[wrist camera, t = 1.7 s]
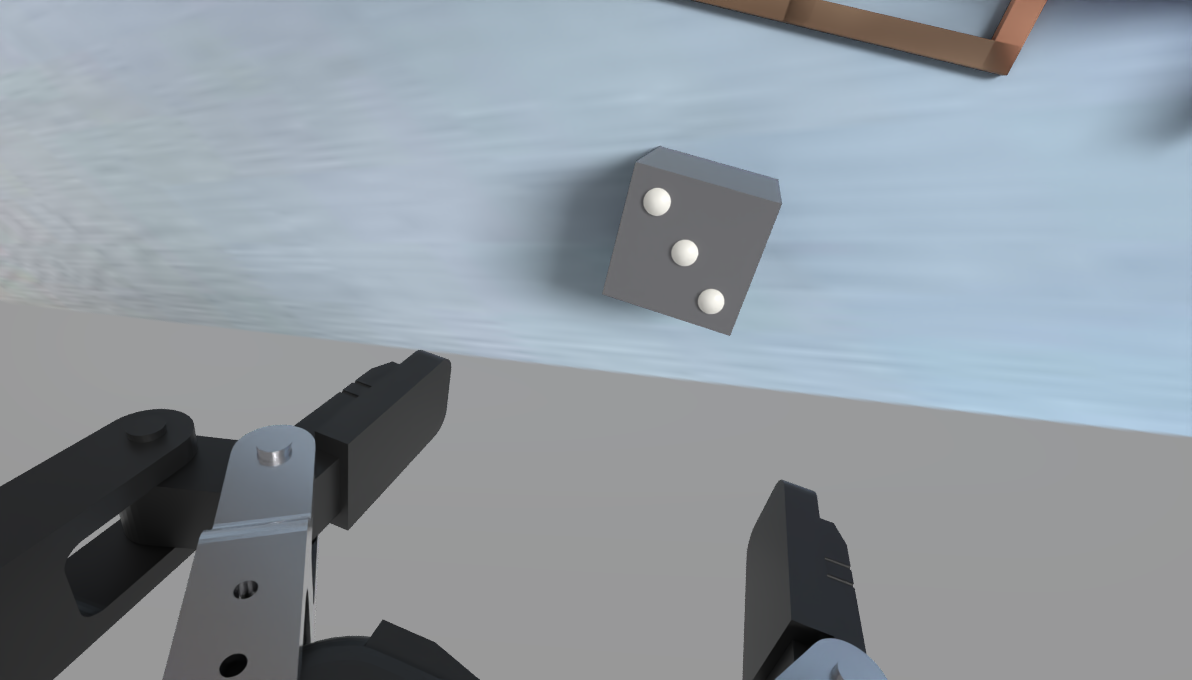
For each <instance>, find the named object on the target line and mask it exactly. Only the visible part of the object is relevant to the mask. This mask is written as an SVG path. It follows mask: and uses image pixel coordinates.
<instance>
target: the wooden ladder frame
mask: <svg viewBox="0 0 1192 680" xmlns="http://www.w3.org/2000/svg"><path fill="white" fill-rule="evenodd" d="M692 1H696V2H701V3H705V4H709V5H713V6H717V7H721V8H725V9H730V10H734V11H738V12H742V13H746V14H750V15H754V16H758V17H763V18H767V19H771V20H775V21H779V22H783V23H787V24H792V25H796V26H800V27H804V28H808V29H812V30H816V31H820V32H825V33H829V34H833V35H837V36H841V37H845V38H849V39H854V40H858V41H862V42H866V43H870V44H874V45H878V46H883V47H887V48H891V49H895V50H899V51H903V52H907V53H911V54H916V55H920V56H924V57H928V58H932V59H936V60H940V61H945V62H949V63H953V64H957V65H961V66H965V67H969V68H973V69H978V70H982V71H986V72H990V73H994V74H998V75H1008V73H1009V71H1010V69H1011V67H1012V65H1013V63H1014V61H1015V60H1016V58H1017V56H1018V54H1019V52H1020V50H1021V48H1022V46H1023V45H1024V43H1025V41H1026V39H1027V37H1028V35H1029V33H1030V31H1031V30H1032V28H1033V26H1034V24H1035V22H1036V20H1037V18H1038V17H1039V15H1040V13H1041V11H1042V9H1043V7H1044V5H1045V3H1046V2H1047V0H1011V2H1010V4H1009V6H1008V8H1007V10H1006V12H1005V14H1004V16H1003V18H1002V19H1001V21H1000V23H999V25H998V27H997V29H996V31H995V33H994V35H993V37H992V39H991V40H990V39H986V38H981V37H977V36H973V35H968V34H964V33H960V32H956V31H951V30H947V29H943V28H939V27H934V26H930V25H926V24H921V23H917V22H913V21H909V20H904V19H900V18H896V17H892V16H887V15H883V14H879V13H874V12H870V11H866V10H862V9H857V8H853V7H849V6H844V5H840V4H836V3H832V2H827V1H823V0H692Z"/></svg>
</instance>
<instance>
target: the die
mask: <svg viewBox="0 0 1192 680" xmlns="http://www.w3.org/2000/svg"><path fill="white" fill-rule="evenodd" d="M781 205H782V201H781V194H780V188H779V181H778V179H775V178H771V177H768V176H764V175H761V174H757V173H754V172H750V171H746V170H743V169H739V168H736V167H732V166H729V165H725V164H722V163H718V162H715V161H711V160H707V159H704V158H700V157H697V156H693V155H690V154H686V153H683V152H679V151H676V150H672V149H668V148H665V147H661V146H659V147H658V148H656V149H655V150H653V151H651V152H650V153H648V154H647V155H645V156H644V157H642V158H641V159H639V160H637V161H636V162H635V166H634V170H633V174H632V178H631V182H630V186H629V190H628V194H627V198H626V202H625V206H624V210H623V214H622V218H621V222H620V226H619V230H618V234H617V238H616V242H615V245H614V249H613V253H612V257H611V261H610V265H609V269H608V273H607V277H606V281H605V285H604V289H603V293H602V294H603V295H606V296H609V297H612V298H616V299H619V300H622V301H625V302H628V303H631V304H634V305H637V306H640V307H643V308H646V309H649V310H652V311H655V312H658V313H662V314H665V315H668V316H671V317H674V318H677V319H680V320H683V321H686V322H689V323H692V324H695V325H698V326H701V327H704V328H708V329H711V330H714V331H717V332H720V333H723V334H726V335H729V336H730V335H731V332H732V329H733V327H734V324H735V322H736V319H737V317H738V314H739V312H740V309H741V307H742V304H743V301H744V299H745V296H746V294H747V291H748V289H749V286H750V284H751V281H752V279H753V276H754V274H755V271H756V268H757V266H758V263H759V261H760V258H761V256H762V253H763V251H764V248H765V246H766V243H767V240H768V238H769V235H770V233H771V230H772V228H773V225H774V223H775V220H776V218H777V215H778V213H779V210H780V207H781Z"/></svg>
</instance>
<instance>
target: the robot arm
mask: <svg viewBox="0 0 1192 680" xmlns="http://www.w3.org/2000/svg"><path fill="white" fill-rule="evenodd" d="M450 374H451V362H450V361H449V360H448V359H445V358H443V357H440V356H437V355H434V354H431V353H429V352H426V351H423V350H418V351H416V352H415V353H413V354H412V355H411V356H410V357H408V358H407V359H406V360H405V361H403V362H402V363H401V364H397V363H395V362H390V363H387V364H384V365H381V366H378V367H375V368H372V369H371V370H369V371H368V372H366V373H365V374H363V375H362V376H361V377H359V378H358V379H357V380H356V381H355V383H351V384H350V385H349V386H347V387H346V388H345V389H343V391H342V393H341V392H339V393H338V394H336V395H335V396H334V397H332V398H331V399H330V400H328V401H327V402H326V403H324V404H323V405H322V406H320V407H319V408H318V409H316V410H315V411H314V412H312V413H311V414H309V415H308V416H307V417H305V418H304V419H303V420H301V421H300V422H299V423H297V424H296V425H295V426H291V425H273V426H267V427H263V428H259V429H256V430H254V431H252V432H250V433H248V434H246V435H244V436H243V437H242V438H241V439H239V440H231V439H222V438H213V437H204V436H196V434H195V428H194V423H193V420H192V419H191V418H190V417H189V416H188V415H186V414H184V413H182V412H179V411H175V410H169V409H153V410H145V411H140V412H136V413H133V414H129V415H127V416H124V417H122V418H120V419H118V420H115V421H114V422H112V423H110V424H108V425H107V426H105V427H103V428H101V429H100V430H98V431H96V432H94V433H93V434H91V435H89V436H88V437H86V438H84V439H82V440H80V441H79V442H77V443H75V444H74V445H72V446H70V447H68V448H67V449H65V450H63V451H61V452H60V453H58V454H56V455H54V456H53V457H51V458H49V459H48V460H46V461H44V462H42V463H41V464H39V465H37V466H35V467H34V468H32V469H30V470H28V471H27V472H25V473H23V474H21V475H20V476H18V477H16V478H14V479H13V480H11V481H9V482H7V483H6V484H4V485H2V486H0V680H53V679H54V678H55V677H56V676H58V675H59V674H60V673H61V672H62V671H63V670H64V669H65V668H66V667H67V666H69V665H70V664H71V663H72V662H73V661H74V660H75V659H76V658H77V657H79V656H80V655H81V654H82V653H83V652H84V651H85V650H86V649H87V648H88V647H90V646H91V645H92V644H93V643H94V642H95V641H96V640H97V639H98V638H99V637H100V636H102V635H103V634H104V633H105V632H106V631H107V630H108V629H109V628H110V627H112V626H113V625H114V624H115V623H116V622H117V621H118V620H119V619H120V618H122V616H124V615H125V614H126V613H127V612H128V611H129V610H130V609H131V608H133V607H134V606H135V605H136V604H137V603H138V602H139V601H140V600H141V599H142V598H143V597H145V596H146V595H147V594H148V593H149V592H150V591H151V590H152V589H154V587H156V586H157V585H158V584H159V583H160V582H161V581H162V580H163V579H164V578H166V577H167V576H168V575H169V574H170V573H171V572H172V571H173V570H174V569H176V568H177V567H178V566H179V565H180V564H181V563H182V562H183V561H184V560H186V559H187V558H188V556H190V555H191V554H192V553H193V552H194V551H195V550H196V552H195V556H194V560H193V564H192V568H191V571H190V575H189V579H188V583H187V587H186V591H185V595H184V598H183V603H182V606H181V610H180V614H179V618H178V622H177V625H176V629H175V633H174V637H173V641H172V645H171V649H170V653H169V657H168V660H167V664H166V668H165V672H164V676H163V679H162V680H480V679H478V678H477V677H475V676H474V675H473V674H472V673H471V672H470V671H469V670H467V669H466V668H465V667H464V666H462V665H461V664H460V663H459V662H458V661H457V660H455V659H454V658H453V657H452V656H451V655H449V654H448V653H447V652H446V651H445V650H444V649H442V648H441V647H440V646H439V645H438V644H436V643H435V642H433V641H431V640H428V639H426V638H424V637H422V636H419V635H417V634H415V633H412V632H410V631H408V630H406V629H403V628H401V627H398V626H396V625H394V624H392V623H390V622H387V621H385V620H382V621H381V623H380V624H379V626H378V627H377V628H376V630H375V631H374V633H373V634H372V636H371V637H367V636H345V637H334V638H329V639H324V640H320V641H316V642H315V610H316V589H317V568H318V567H317V566H318V547H319V537H318V536H319V533H320V532H321V531H322V530H323V529H324V528H325V527H326V526H327V525H328V524H329V523H331V524H334V525H336V526H338V527H341V528H343V529H346V530H349V529H350V528H351V527H352V526H353V524H354V523H355V522H356V521H357V520H358V519H359V518H360V517H361V516H362V515H363V514H364V512H365V511H366V510H367V509H368V508H369V507H370V506H371V505H372V504H373V503H374V501H376V499H377V498H378V497H379V496H380V495H381V494H382V493H383V492H384V491H385V490H386V489H387V487H388V486H389V485H390V484H391V483H392V482H393V481H394V480H395V479H396V478H397V477H398V476H399V474H400V473H401V472H402V471H403V470H404V469H405V468H406V467H407V465H409V463H410V462H411V461H412V460H413V459H414V458H415V457H416V456H417V455H418V454H419V453H420V451H421V450H422V449H423V448H424V447H425V446H426V445H427V444H428V443H429V442H430V441H431V440H432V439H433V437H434V436H435V435H436V434H437V432H438V431H439V429H440V427H441V426H442V423H443V421H444V418H445V415H446V410H447V400H448V392H449V383H450ZM118 514H119V515H120V518H121V519H120V520H119V521H117V522H116V523H115V524H113V525H112V526H110V527H109V528H108V529H106V530H105V531H104V532H102V533H101V534H100V535H99V536H97V537H96V538H95V539H93V540H92V541H90V542H89V543H88V544H86V545H85V546H84V547H82V548H81V549H79V550H78V551H77V552H75V553H74V554H73V555H71V556H70V557H69V558H68V556H69V555H70V553H71V552H72V550H73V549H74V548H75V547H76V546H77V545H78V544H79V543H80V542H81V541H82V540H84V539H85V538H86V537H88V536H89V535H90V534H92V533H93V532H94V531H96V530H97V529H99V528H100V527H101V526H103V525H104V524H105V523H107V522H108V521H109V520H111V519H112V518H113V517H115V516H116V515H118ZM746 565H747V566H746V593H745V622H744V652H743V680H887V678H886V677H885V675H884V673H883V672H882V671H881V669H880V668H879V667H878V665H877V664H876V663H875V662H874V661H873V660H872V659H871V658H870V657H869V656H868V655H867V654H866V649H865V644H864V638H863V633H862V627H861V622H860V616H859V611H858V605H857V599H856V594H855V589H854V588H853V584H854V583H853V578H852V572H851V570H850V561H849V555H848V549H847V545H846V543H845V541H844V540H843V538H842V537H841V535H840V533H839V531H838V530H837V528H836V526H835V525H834V523H832V522H829V521H826V520H823V519H821V518H820V516H819V510H818V501H817V495H816V493H815V492H814V491H812V490H809V489H806V488H803V487H801V486H798V485H795V484H792V483H789V482H787V481H784V480H780V481H778V483H777V484H776V486H775V488H774V490H773V491H772V493H771V495H770V497H769V499H768V501H767V503H766V505H765V507H764V509H763V511H762V513H761V514H760V517H759V518H758V520H757V522H756V524H755V526H754V528H753V531H752V533H751V537H750V540H749V544H748V549H747V563H746Z"/></svg>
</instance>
